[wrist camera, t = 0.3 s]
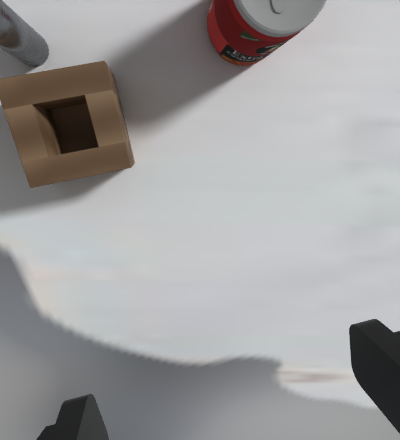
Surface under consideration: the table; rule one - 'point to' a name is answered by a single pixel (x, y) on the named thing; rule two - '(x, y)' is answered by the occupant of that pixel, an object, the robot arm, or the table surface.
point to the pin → (21, 38)
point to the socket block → (67, 123)
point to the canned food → (257, 26)
